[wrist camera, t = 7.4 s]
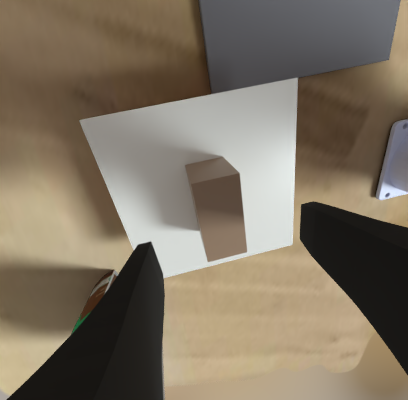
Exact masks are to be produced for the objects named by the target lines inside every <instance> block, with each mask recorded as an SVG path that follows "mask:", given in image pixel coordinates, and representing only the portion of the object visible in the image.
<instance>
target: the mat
mask: <svg viewBox="0 0 408 400" xmlns="http://www.w3.org/2000/svg"><path fill="white" fill-rule="evenodd" d="M198 1H199V9H200V16H201V23H202V30H203V37H204V44H205V52H206V59H207V66H208V73H209V80H210V87H211V94H215V93H220V92H225V91H230V90H236V89H241V88H246V87H251V86H256V85H261V84H267V83H272V82H277V81H282V80H287V79H292V78H300V77H305V76H310V75H315V74H320V73H325V72H330V71H335V70H340V69H345V68H350V67H355V66H360V65H366V64H371V63H376V62H381V61H386V60H389V56H390V51H391V46H392V41H393V36H394V31H395V26H396V21H397V16H398V11H399V6H400V0H198Z"/></svg>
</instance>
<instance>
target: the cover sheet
mask: <svg viewBox="0 0 408 400" xmlns="http://www.w3.org/2000/svg"><path fill="white" fill-rule="evenodd" d="M297 91H298V78H292V79H287V80H282V81H277V82H272V83H267V84H261V85H256V86H251V87H246V88H241V89H236V90H230V91H225V92H220V93H215V94H210V95H205V96H200V97H194V98H189V99H184V100H179V101H174V102H169V103H164V104H158V105H153V106H148V107H143V108H138V109H133V110H128V111H122V112H117V113H112V114H107V115H102V116H97V117H92V118H86V119H82V120H79V122H80V124H81V126H82V129H83V131H84V133H85V136H86V138H87V141H88V143H89V145H90V148H91V150H92V152H93V155H94V157H95V160H96V162H97V164H98V167H99V169H100V171H101V174H102V176H103V179H104V181H105V183H106V186H107V188H108V190H109V193H110V195H111V198H112V200H113V202H114V205H115V207H116V209H117V212H118V214H119V216H120V219H121V221H122V224H123V226H124V228H125V231H126V233H127V235H128V238H129V240H130V243H131V245H132V247H133V250H135V248H136V247H137V245H138V244H142V243H146V242H150V241H151V242H152V245H153V248H154V250H155V253H156V256H157V258H158V261H159V264H160V267H161V269H162V272H163V278H166V277H170V276H174V275H178V274H182V273H186V272H189V271H193V270H197V269H201V268H205V267H209V266H212V265H216V264H220V263H224V262H228V261H232V260H236V259H239V258H243V257H247V256H251V255H255V254H259V253H262V252H266V251H270V250H274V249H278V248H282V247H286V246H289V245H292V243H293V213H294V182H295V152H296V121H297Z"/></svg>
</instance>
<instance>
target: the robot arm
mask: <svg viewBox="0 0 408 400" xmlns="http://www.w3.org/2000/svg"><path fill="white" fill-rule="evenodd" d="M403 125H404V126H403ZM404 194H408V119H405V120H401V121H397V122H395V123H394V124H393V126H392V129H391V133H390V137H389V142H388V146H387V150H386V154H385V159H384V163H383V167H382V172H381V176H380V180H379V184H378V189H377V193H376V198H377V199H379V200H384V199H388V198H392V197H396V196H400V195H404ZM300 240H301V241H302V243H303V244H304V246H305V247H306V249H307V250H308V252H309V253H310V254H311V256H312V257H313V258H314V259H315V260H316V261H317V262H318V264H319V265H320V266H321V267H322V268H323V269H324V270H325V271H326V272H327V273H328V274H329V275H330V277H331V278H332V279H333V280H334V281H335V282H336V283H337V284H338V285H339V286H340V287H341V288H342V289H343V291H344V292H345V293H346V294H347V295H348V296H349V297H350V298H351V299H352V301H353V302H354V303H355V304H356V305H357V307H358V308H359V309H360V310H361V312H362V313H363V314H364V316H365V317H366V318H367V319H368V321H369V322H370V323H371V325H372V326H373V327H374V329H375V330H376V331H377V333H378V334H379V335H380V337H381V338H382V339H383V341H384V342H385V344H386V345H387V346H388V348H389V349H390V350H391V352H392V353H393V355H394V356H395V358H396V359H397V360H398V362H399V363H400V365H401V366H402V368H403V369H404V371H405V372H406V373H407V375H408V228H407V227H403V226H399V225H395V224H391V223H387V222H383V221H380V220H376V219H372V218H369V217H366V216H362V215H359V214H356V213H352V212H349V211H346V210H342V209H339V208H336V207H333V206H329V205H326V204H322V203H318V202H309V203H305V204H301V222H300ZM164 297H165V293H164V279H163V272H162V269H161V267H160V264H159V261H158V258H157V256H156V253H155V250H154V248H153V245H152V242H151V241H150V242H146V243H142V244H138V245H137V247H136V248H135V250H134V251H133V253H132V254H131V256H130V257H129V259H128V260H127V262H126V264H125V265H124V267H123V268H122V270H121V271H120V273H119V274H118V276H117V277H116V279H115V280H114V282H113V283H112V285H111V286H110V287H109V289H108V290H107V291H106V293H105V294H104V295H103V297H102V298H101V300H100V301H99V302H98V304H97V305H96V306H95V307H94V309H93V310H92V311H91V312H90V314H89V315H88V316H87V317H86V318H85V319H84V321H83V322H82V323H81V324H80V325H79V326H78V328H77V329H76V330H75V331H74V332H73V333H72V334H71V336H70V337H69V338H68V339H67V340H66V341H65V342H64V343H63V344H62V345H61V346H60V347H59V348H58V349H57V350H56V351H55V352H54V354H53V355H52V356H51V357H50V358H49V359H48V360H47V361H46V362H45V363H44V364H43V365H42V366H41V367H40V368H39V369H38V370H37V371H36V372H35V373H34V374H33V375H32V376H31V377H30V378H29V379H28V380H27V381H26V382H25V383H24V384H23V385H22V386H21V387H20V388H19V389H18V390H16V391H15V392H14V393H13V394H12V395H11V396H10V397H9V398H8V399H7V400H163V383H162V338H163V319H164Z"/></svg>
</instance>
